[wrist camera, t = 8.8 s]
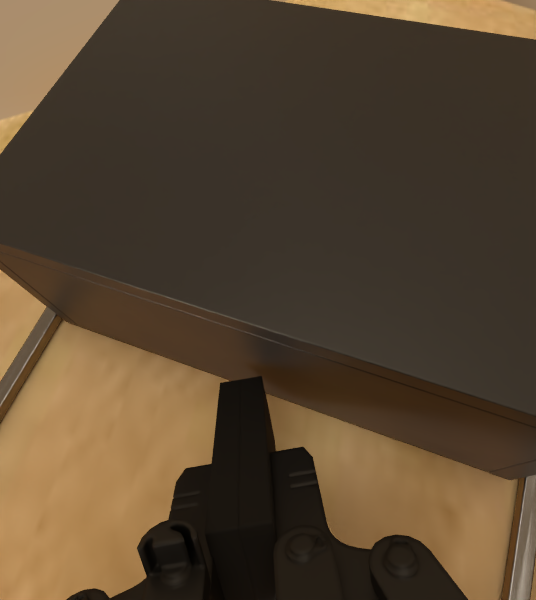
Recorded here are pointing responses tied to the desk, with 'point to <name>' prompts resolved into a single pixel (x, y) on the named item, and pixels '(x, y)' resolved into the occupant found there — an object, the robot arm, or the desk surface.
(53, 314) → the rails
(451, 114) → the cover
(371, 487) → the desk surface
